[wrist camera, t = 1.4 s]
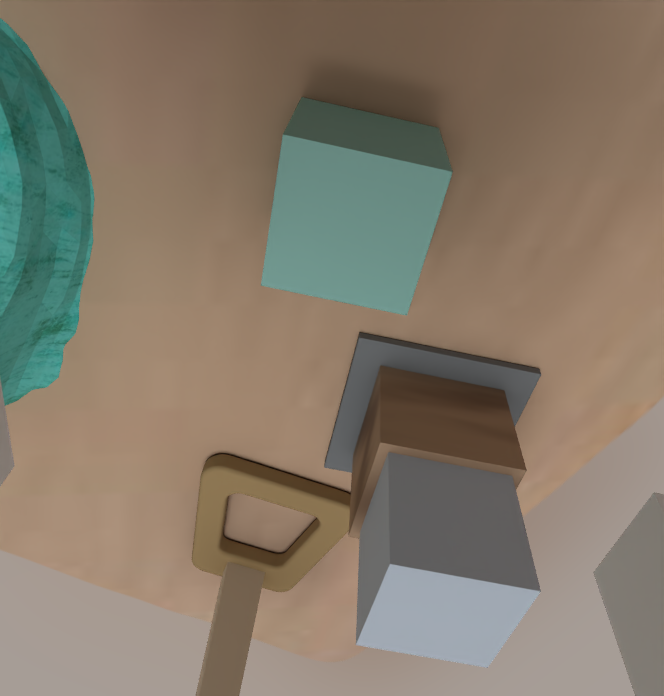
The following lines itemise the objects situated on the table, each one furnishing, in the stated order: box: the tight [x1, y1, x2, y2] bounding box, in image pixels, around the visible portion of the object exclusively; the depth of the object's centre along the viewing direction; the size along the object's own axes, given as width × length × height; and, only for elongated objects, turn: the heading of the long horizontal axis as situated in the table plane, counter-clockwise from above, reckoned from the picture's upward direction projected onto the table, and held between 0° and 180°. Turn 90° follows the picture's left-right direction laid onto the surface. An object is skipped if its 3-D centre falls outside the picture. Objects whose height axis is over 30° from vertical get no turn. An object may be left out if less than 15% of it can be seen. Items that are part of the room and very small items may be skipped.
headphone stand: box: [192, 454, 351, 696], centre depth 32 cm, size 10×11×22 cm
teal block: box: [261, 97, 453, 315], centre depth 24 cm, size 6×6×6 cm
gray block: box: [356, 452, 541, 668], centre depth 27 cm, size 6×6×6 cm
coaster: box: [324, 333, 541, 473], centre depth 34 cm, size 10×10×1 cm
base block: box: [349, 365, 527, 539], centre depth 32 cm, size 7×7×6 cm
